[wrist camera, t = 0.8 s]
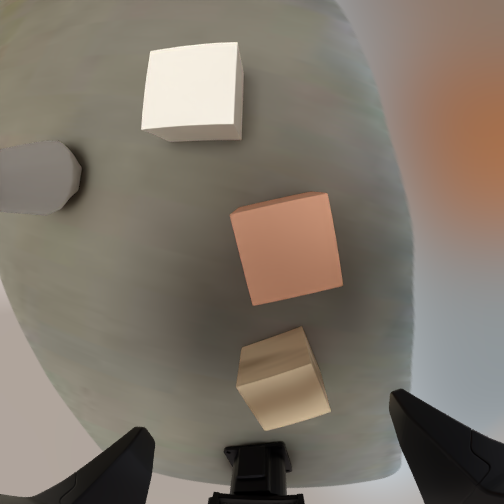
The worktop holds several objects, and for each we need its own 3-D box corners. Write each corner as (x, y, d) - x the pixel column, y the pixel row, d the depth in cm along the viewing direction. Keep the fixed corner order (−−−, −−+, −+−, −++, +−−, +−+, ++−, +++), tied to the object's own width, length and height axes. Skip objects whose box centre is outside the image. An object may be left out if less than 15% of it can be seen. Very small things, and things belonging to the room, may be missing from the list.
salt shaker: (99, 189, 19) (-43, 207, 6) (56, 223, 19) (-66, 260, 7) (77, 129, 18) (-51, 107, 5) (36, 166, 18) (-79, 173, 6)
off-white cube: (241, 140, 18) (233, 124, 13) (170, 142, 18) (141, 129, 13) (243, 74, 16) (237, 42, 12) (175, 79, 17) (150, 51, 12)
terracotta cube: (324, 261, 19) (343, 285, 14) (255, 276, 20) (252, 305, 15) (310, 191, 18) (327, 193, 13) (238, 207, 19) (229, 214, 14)
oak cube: (320, 371, 21) (331, 411, 17) (265, 389, 22) (265, 430, 17) (301, 325, 20) (310, 363, 16) (241, 346, 21) (235, 386, 16)
